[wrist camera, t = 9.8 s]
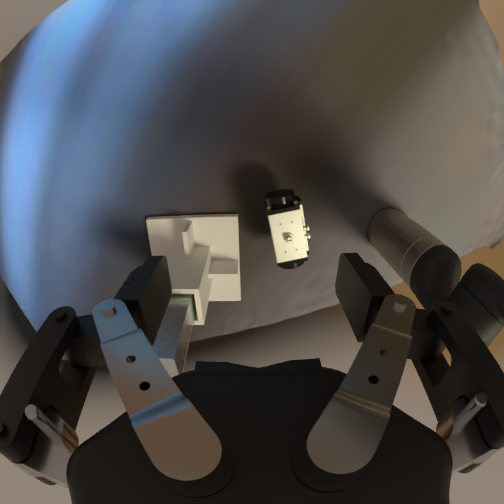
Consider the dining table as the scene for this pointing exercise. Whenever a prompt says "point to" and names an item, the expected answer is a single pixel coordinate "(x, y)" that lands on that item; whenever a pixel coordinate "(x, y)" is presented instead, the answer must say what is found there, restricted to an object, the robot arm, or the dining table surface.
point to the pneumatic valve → (287, 228)
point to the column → (175, 333)
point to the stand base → (199, 256)
